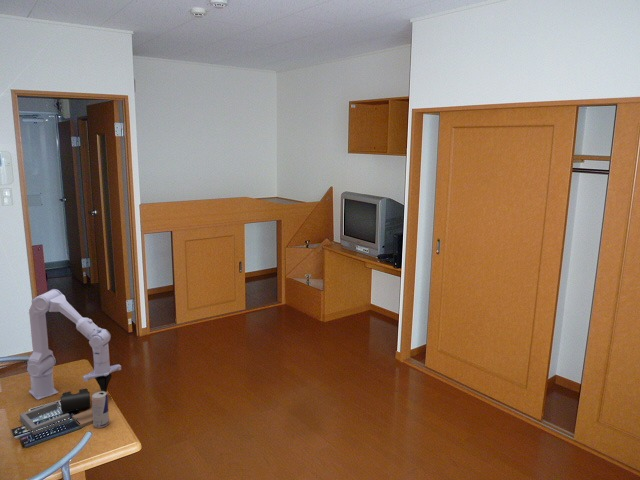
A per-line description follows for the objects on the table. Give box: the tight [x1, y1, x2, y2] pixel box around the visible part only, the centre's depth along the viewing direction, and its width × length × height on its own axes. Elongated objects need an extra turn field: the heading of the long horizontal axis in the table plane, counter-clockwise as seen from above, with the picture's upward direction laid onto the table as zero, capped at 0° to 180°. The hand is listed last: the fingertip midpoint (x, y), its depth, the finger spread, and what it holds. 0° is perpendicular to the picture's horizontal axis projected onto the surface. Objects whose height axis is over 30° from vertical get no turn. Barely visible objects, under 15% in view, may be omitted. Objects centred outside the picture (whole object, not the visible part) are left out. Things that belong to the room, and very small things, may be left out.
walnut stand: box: [71, 408, 93, 428], centre depth 185 cm, size 8×8×1 cm
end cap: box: [59, 388, 91, 414], centre depth 191 cm, size 10×7×7 cm
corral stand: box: [19, 401, 71, 435], centre depth 183 cm, size 13×12×2 cm
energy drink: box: [91, 390, 110, 429], centre depth 181 cm, size 5×5×12 cm
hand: (103, 391), depth 199 cm, fingers closed
